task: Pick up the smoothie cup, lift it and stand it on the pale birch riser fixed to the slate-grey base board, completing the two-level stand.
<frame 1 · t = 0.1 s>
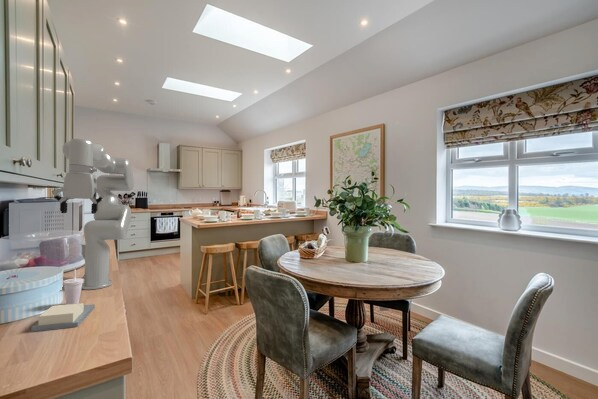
hand: (79, 213, 108), 36 cm above the counter, tool pointing down, fingers open, 9 cm apart
base board: (66, 318, 95), on the counter
chalice: (88, 278, 141), on the counter
smoothie: (72, 305, 107), on the counter
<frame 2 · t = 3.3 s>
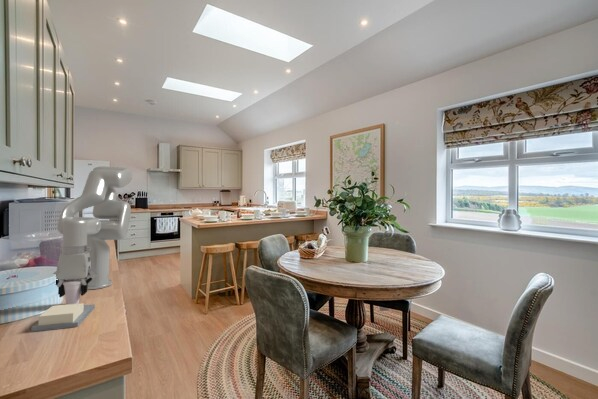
hand: (72, 294, 107), 4 cm above the counter, tool pointing down, fingers closed on smoothie, 6 cm apart
smoothie: (72, 305, 107), on the counter, touching gripper
everything else where it was.
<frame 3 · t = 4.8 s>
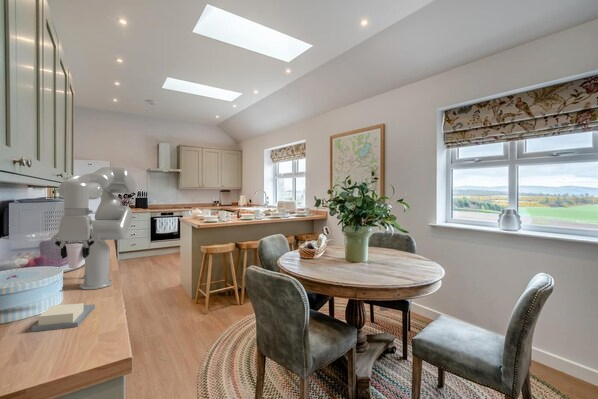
hand: (75, 256, 108), 19 cm above the counter, tool pointing down, fingers closed on smoothie, 6 cm apart
smoothie: (74, 267, 108), point 15 cm above the counter, touching gripper
everything else where it was.
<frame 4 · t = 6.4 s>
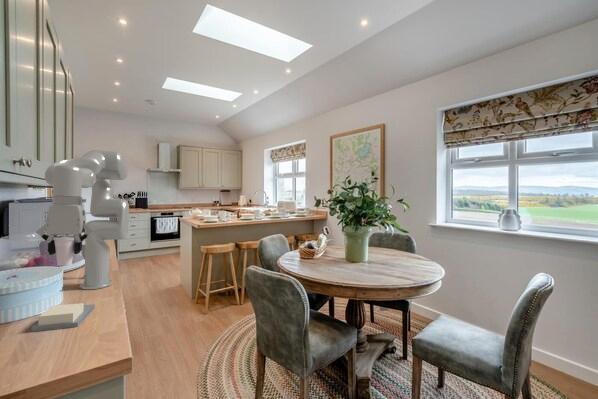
hand: (65, 253, 93), 24 cm above the counter, tool pointing down, fingers closed on smoothie, 6 cm apart
smoothie: (64, 265, 93), point 20 cm above the counter, touching gripper
everything else where it was.
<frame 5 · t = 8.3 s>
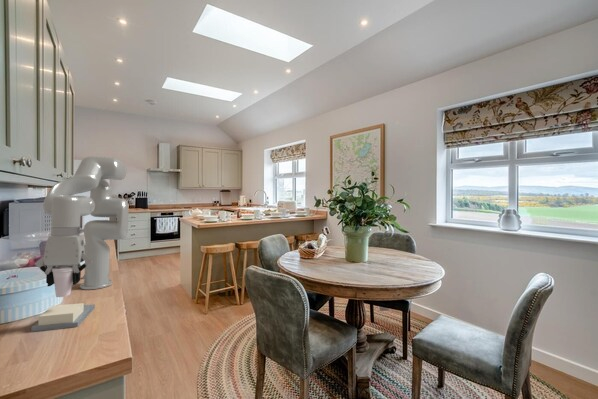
hand: (63, 283, 93), 13 cm above the counter, tool pointing down, fingers closed on smoothie, 6 cm apart
smoothie: (63, 295, 92), point 9 cm above the counter, touching gripper
everything else where it was.
when the fingers open (10 cm above the counter, at t = 9.9 s): smoothie drops 1 cm, resting on base board.
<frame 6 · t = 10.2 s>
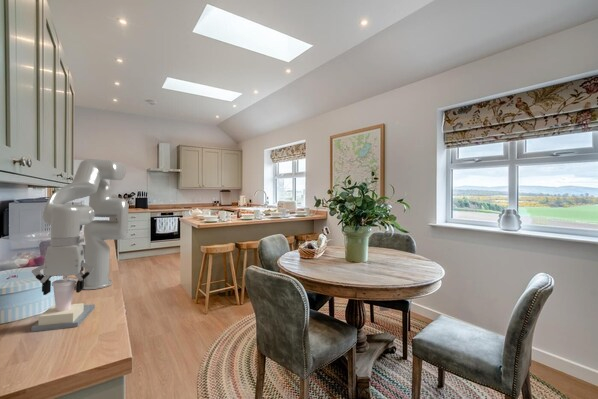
hand: (63, 292, 93), 10 cm above the counter, tool pointing down, fingers open, 8 cm apart
smoothie: (63, 309, 93), point 4 cm above the counter, touching base board
everything else where it was.
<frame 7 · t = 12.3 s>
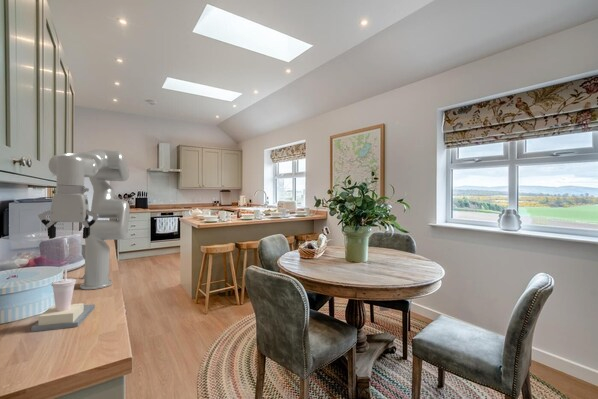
hand: (69, 238, 97), 28 cm above the counter, tool pointing down, fingers open, 9 cm apart
nothing on the counter moved.
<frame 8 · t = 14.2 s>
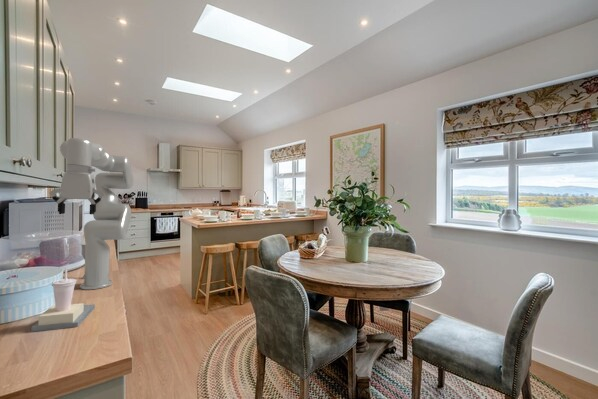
hand: (77, 214, 106), 36 cm above the counter, tool pointing down, fingers open, 9 cm apart
nothing on the counter moved.
at the end: smoothie 0.2 cm from the target spot on the base board, point 4.3 cm above the base board's base; smoothie tilted 0°; the gripper is holding nothing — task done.
